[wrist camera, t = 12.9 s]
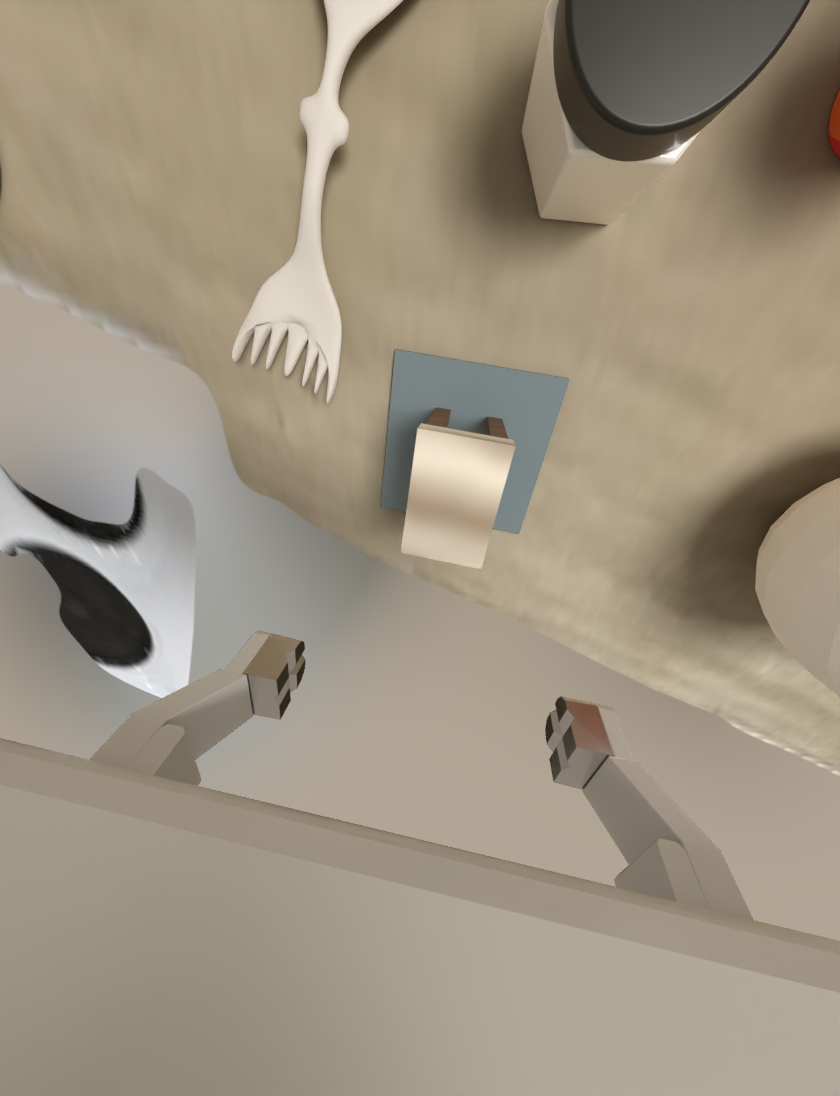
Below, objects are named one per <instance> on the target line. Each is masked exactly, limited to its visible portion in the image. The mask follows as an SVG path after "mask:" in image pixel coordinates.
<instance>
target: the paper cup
mask: <svg viewBox="0 0 840 1096" xmlns="http://www.w3.org/2000/svg"><path fill="white" fill-rule="evenodd" d="M828 134H829V142H830V145H831V148H832V150H833V152H834V153H835V155H836V156H837V157H838V158H839V159H840V89H839V91H838V93H837V96H836V98H835V101H834V103H833V106H832V110H831V114H830V119H829V127H828Z"/></svg>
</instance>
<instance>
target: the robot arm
mask: <svg viewBox="0 0 840 1096" xmlns="http://www.w3.org/2000/svg"><path fill="white" fill-rule="evenodd" d="M304 649H305V645H304V642H303V641H300V640H296V639H292V638H288V637H283V636H280V635H276V634H271V633H267V632H263V631H257V632H255V633H254V634H252V636H251V637H250V638H249V639H248V641H247V642H246V643H245V645H244V646H243V647H242V648H241V650H240V651H239V652H238V653H237V655H236V656H235V657H234V659H233V660H232V661H231V662H230V664H229V665H228V666H227V668H226V669H225V670H223V669H219V670H217V671H215V672H213V673H211V674H209V675H207V676H205V677H203V678H201V679H199V680H197V681H195V682H194V683H191V684H189V685H188V686H186V687H184V688H182V689H180V690H178V691H176V692H174V693H172V694H170V695H168V696H166V697H164V698H162V699H160V700H158V701H156V702H154V703H152V704H150V705H148V706H146V707H145V708H142V709H141V710H138V711H137V712H135V713H133V714H132V715H131V716H130V717H129V718H128V719H127V720H126V721H125V722H124V723H123V724H122V725H121V726H120V727H119V728H118V730H116V732H115V733H114V734H113V735H112V736H111V737H110V738H109V739H108V740H107V741H106V742H105V743H104V744H103V745H102V746H101V747H100V748H99V750H98V751H97V752H96V753H95V754H94V755H93V756H92V757H91V758H90V759H89V760H88V759H84V758H80V757H76V756H72V755H67V754H63V753H59V752H55V751H50V750H47V749H43V748H38V747H34V746H30V745H26V744H21V743H18V742H14V741H9V740H5V739H1V738H0V1096H840V941H837V940H833V939H829V938H825V937H821V936H816V935H812V934H809V933H804V932H800V931H796V930H791V929H788V928H784V927H780V926H775V925H771V924H767V923H763V922H759V921H754V920H753V918H752V916H751V913H750V911H749V909H748V907H747V905H746V903H745V901H744V899H743V897H742V895H741V892H740V890H739V888H738V886H737V884H736V882H735V880H734V878H733V876H732V874H731V871H730V869H729V867H728V865H727V863H726V861H725V859H724V857H723V855H722V853H721V851H720V850H719V849H718V848H717V847H716V845H715V844H714V843H713V842H712V841H711V840H710V839H709V838H708V837H707V836H706V835H705V834H704V832H703V831H702V830H701V829H700V828H699V827H698V826H697V825H696V824H695V823H694V822H693V820H692V819H691V818H690V817H689V816H688V815H687V814H686V813H685V812H684V811H683V810H682V809H681V807H680V806H679V805H678V804H677V803H676V802H675V801H674V800H673V799H672V798H671V797H670V795H669V794H668V793H667V792H666V791H665V790H664V789H663V788H662V787H661V786H660V785H659V784H658V783H657V781H656V780H655V779H654V778H653V777H652V776H651V775H650V774H649V773H648V772H647V771H646V770H645V768H644V767H643V766H642V765H641V764H640V763H639V762H635V761H633V758H632V755H631V753H630V750H629V748H628V745H627V742H626V739H625V737H624V734H623V732H622V729H621V726H620V724H619V721H618V719H617V716H616V713H615V711H614V709H613V708H612V707H609V706H605V705H600V704H595V703H592V702H587V701H582V700H577V699H572V698H567V697H562V696H561V697H559V698H558V699H557V701H556V703H555V706H556V710H554V711H552V712H550V714H549V716H548V718H547V722H546V728H545V732H546V741H547V745H548V746H549V747H550V749H551V750H552V751H553V754H552V755H551V757H550V764H551V771H552V776H553V781H554V782H555V783H559V784H563V785H567V786H571V787H575V788H578V789H582V790H583V793H584V795H585V796H586V798H587V799H588V801H589V802H590V804H591V805H592V807H593V808H594V810H595V812H596V813H597V815H598V817H599V818H600V820H601V821H602V823H603V824H604V826H605V828H606V829H607V831H608V832H609V834H610V836H611V837H612V839H613V840H614V842H615V843H616V845H617V846H618V848H619V849H620V851H621V853H622V854H623V856H624V857H625V859H626V861H627V862H628V864H629V866H627V867H626V868H625V869H624V870H623V871H622V872H621V873H620V874H619V875H618V876H617V877H616V878H615V880H614V881H615V885H616V887H614V886H610V885H606V884H601V883H597V882H592V881H589V880H585V879H580V878H577V877H572V876H568V875H564V874H560V873H556V872H552V871H548V870H543V869H539V868H535V867H531V866H527V865H523V864H519V863H515V862H510V861H506V860H502V859H498V858H494V857H490V856H485V855H482V854H477V853H473V852H469V851H465V850H461V849H456V848H452V847H448V846H444V845H440V844H436V843H432V842H427V841H423V840H419V839H415V838H411V837H407V836H403V835H399V834H395V833H390V832H386V831H382V830H378V829H374V828H370V827H366V826H362V825H357V824H353V823H349V822H345V821H341V820H337V819H333V818H329V817H324V816H320V815H316V814H312V813H308V812H303V811H300V810H295V809H291V808H287V807H283V806H279V805H275V804H270V803H266V802H262V801H258V800H254V799H250V798H246V797H241V796H237V795H233V794H229V793H224V792H221V791H216V790H212V789H208V788H204V787H200V786H198V785H199V783H200V782H201V777H200V773H199V770H198V767H197V765H196V762H195V760H196V759H197V758H198V757H200V756H201V755H202V754H204V753H205V752H206V751H208V750H209V749H210V748H212V747H213V746H214V745H216V744H217V743H218V742H220V741H221V740H222V739H223V738H225V737H226V736H228V735H229V734H230V733H232V732H233V731H234V730H235V729H237V728H238V727H239V726H241V725H242V724H243V723H245V722H246V721H247V720H249V719H250V718H251V717H253V714H254V715H259V716H265V717H269V718H275V719H281V718H282V716H283V714H284V712H285V710H286V708H287V707H288V705H289V703H290V701H291V699H290V692H292V691H294V690H295V689H297V687H298V685H299V684H300V682H301V679H302V676H303V673H304V670H305V658H304V657H303V656H302V653H303V652H304Z"/></svg>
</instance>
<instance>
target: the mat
mask: <svg viewBox="0 0 840 1096" xmlns="http://www.w3.org/2000/svg"><path fill="white" fill-rule="evenodd" d="M568 382H569V379H568V378H562V377H556V376H550V375H545V374H539V373H533V372H527V371H521V370H515V369H509V368H503V367H498V366H492V365H486V364H480V363H474V362H468V361H462V360H456V359H450V358H445V357H439V356H433V355H427V354H421V353H415V352H409V351H403V350H398V349H395V357H394V367H393V378H392V389H391V400H390V410H389V421H388V432H387V443H386V453H385V464H384V475H383V485H382V496H381V507H382V508H387V509H392V510H397V511H402V512H406V509H407V502H408V495H409V487H410V480H411V473H412V465H413V458H414V451H415V443H416V436H417V428H418V427H419V426H420V424H421V423H423V424H426V423H427V422H428V420H429V419H430V417H431V416H432V414H433V413H434V411H435V410H436V408H437V407H438V408H444V409H449V410H451V413H450V418H449V424H448V427H447V428H450V429H456V430H461V431H467V432H473V433H478V434H484V435H485V428H486V424H487V420H488V416H489V417H494V418H500V419H502V420H503V423H504V426H505V429H506V433H507V436H508V439H511V440H514V443H515V445H516V447H515V451H514V454H513V458H512V461H511V465H510V468H509V472H508V475H507V479H506V482H505V486H504V489H503V493H502V497H501V500H500V504H499V507H498V511H497V514H496V518H495V521H494V525H493V528H492V529H495V530H500V531H505V532H510V533H515V534H519V532H520V529H521V525H522V522H523V519H524V516H525V513H526V510H527V507H528V504H529V501H530V498H531V495H532V492H533V489H534V486H535V483H536V480H537V477H538V474H539V471H540V468H541V465H542V461H543V458H544V455H545V452H546V449H547V446H548V443H549V440H550V437H551V434H552V431H553V428H554V425H555V422H556V419H557V416H558V413H559V410H560V407H561V404H562V401H563V397H564V394H565V391H566V388H567V385H568Z"/></svg>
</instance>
